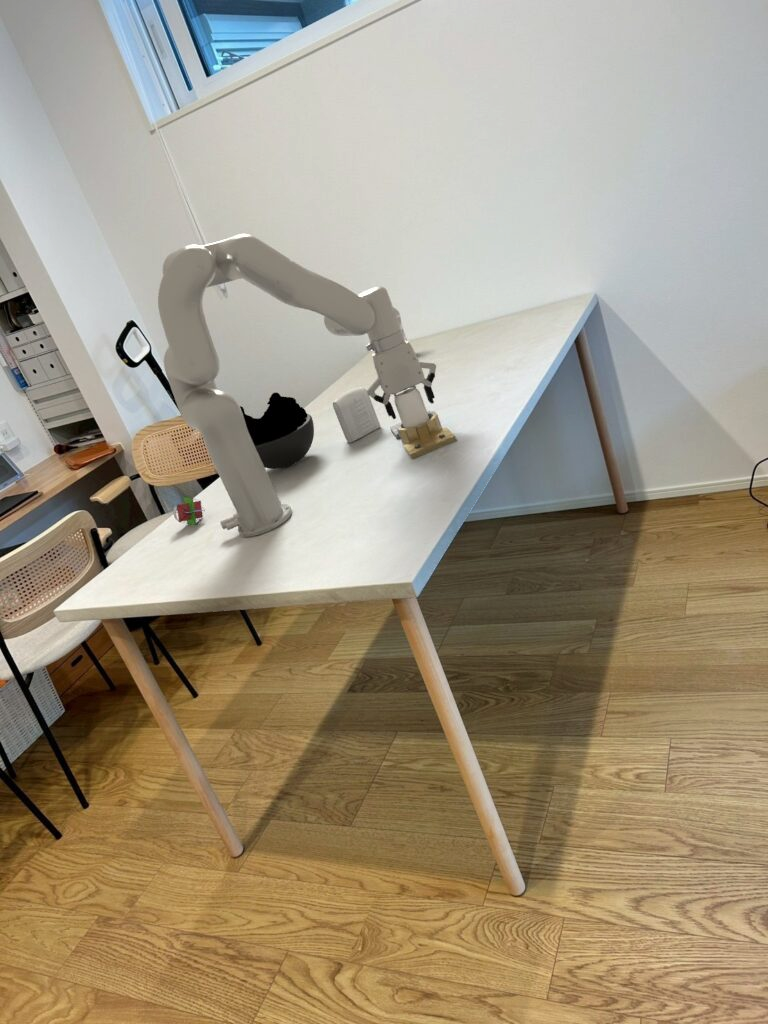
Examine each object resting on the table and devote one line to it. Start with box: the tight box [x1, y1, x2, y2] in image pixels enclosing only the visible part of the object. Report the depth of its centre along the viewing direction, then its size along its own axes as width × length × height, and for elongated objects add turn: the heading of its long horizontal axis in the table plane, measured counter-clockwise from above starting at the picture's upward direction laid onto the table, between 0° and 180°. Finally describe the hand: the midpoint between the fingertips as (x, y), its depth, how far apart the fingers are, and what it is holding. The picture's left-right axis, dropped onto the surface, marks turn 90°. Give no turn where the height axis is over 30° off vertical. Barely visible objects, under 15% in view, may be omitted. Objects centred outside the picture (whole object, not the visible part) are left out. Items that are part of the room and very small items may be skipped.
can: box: [393, 385, 430, 428], centre depth 187 cm, size 6×6×12 cm
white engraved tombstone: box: [332, 386, 381, 443], centre depth 205 cm, size 10×4×12 cm, turn 123°
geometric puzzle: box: [172, 496, 206, 526], centre depth 191 cm, size 7×7×8 cm
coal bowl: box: [239, 392, 315, 470], centre depth 203 cm, size 20×20×19 cm
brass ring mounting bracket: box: [389, 410, 458, 460], centre depth 189 cm, size 11×26×4 cm, turn 11°
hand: (412, 409), depth 187 cm, fingers open, 9 cm apart
